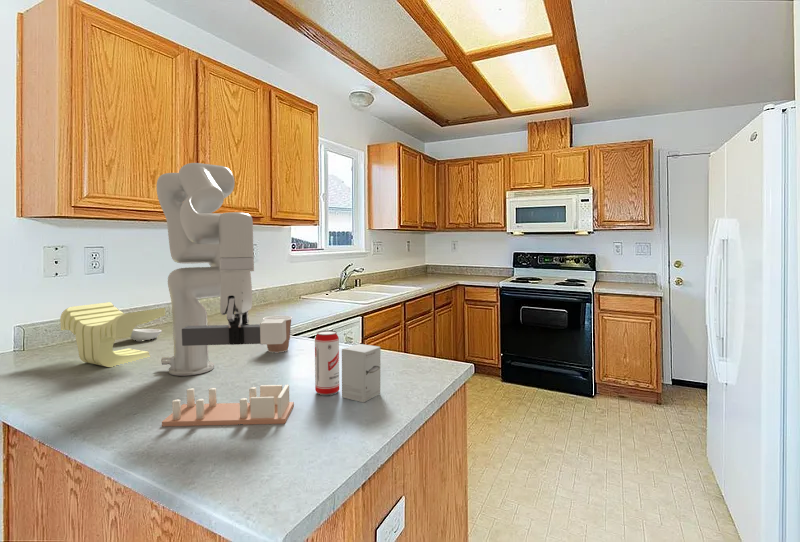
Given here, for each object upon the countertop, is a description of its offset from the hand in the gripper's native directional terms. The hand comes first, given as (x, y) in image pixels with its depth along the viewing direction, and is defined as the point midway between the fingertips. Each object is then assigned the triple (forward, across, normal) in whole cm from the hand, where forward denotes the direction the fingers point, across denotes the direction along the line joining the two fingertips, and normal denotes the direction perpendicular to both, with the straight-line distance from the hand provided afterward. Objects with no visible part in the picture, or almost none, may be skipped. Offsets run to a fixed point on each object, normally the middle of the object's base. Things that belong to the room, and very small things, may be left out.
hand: (239, 341), depth 102 cm
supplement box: (+16, -5, +29) cm, 33 cm away
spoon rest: (+15, -71, -63) cm, 96 cm away
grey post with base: (0, 0, 0) cm, 0 cm away
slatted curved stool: (+15, -43, -54) cm, 71 cm away
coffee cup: (+15, -53, -2) cm, 56 cm away
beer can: (+16, -8, +20) cm, 27 cm away
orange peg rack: (+16, +6, 0) cm, 17 cm away
